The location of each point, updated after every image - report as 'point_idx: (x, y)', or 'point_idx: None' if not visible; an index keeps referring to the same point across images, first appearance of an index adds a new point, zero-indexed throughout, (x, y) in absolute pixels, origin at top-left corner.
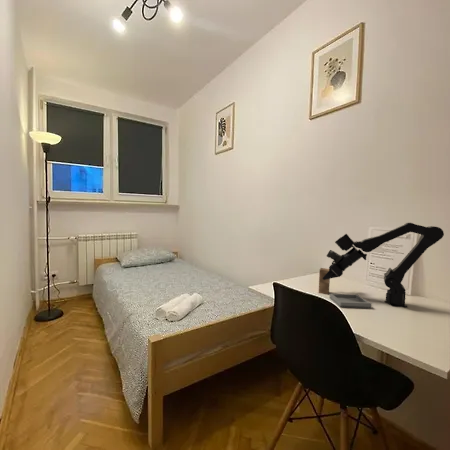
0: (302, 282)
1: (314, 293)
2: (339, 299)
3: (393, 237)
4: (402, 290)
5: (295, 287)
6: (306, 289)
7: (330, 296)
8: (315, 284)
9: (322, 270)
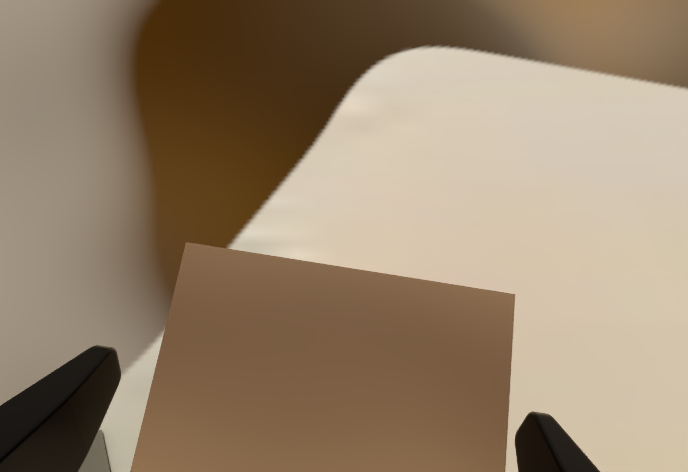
0: (651, 125)
1: None
2: None
3: None
4: None
5: (401, 60)
6: (377, 170)
7: None
8: (651, 270)
9: (173, 347)
